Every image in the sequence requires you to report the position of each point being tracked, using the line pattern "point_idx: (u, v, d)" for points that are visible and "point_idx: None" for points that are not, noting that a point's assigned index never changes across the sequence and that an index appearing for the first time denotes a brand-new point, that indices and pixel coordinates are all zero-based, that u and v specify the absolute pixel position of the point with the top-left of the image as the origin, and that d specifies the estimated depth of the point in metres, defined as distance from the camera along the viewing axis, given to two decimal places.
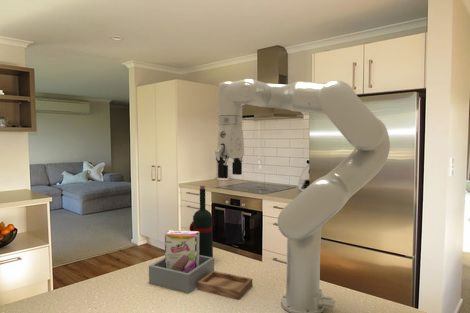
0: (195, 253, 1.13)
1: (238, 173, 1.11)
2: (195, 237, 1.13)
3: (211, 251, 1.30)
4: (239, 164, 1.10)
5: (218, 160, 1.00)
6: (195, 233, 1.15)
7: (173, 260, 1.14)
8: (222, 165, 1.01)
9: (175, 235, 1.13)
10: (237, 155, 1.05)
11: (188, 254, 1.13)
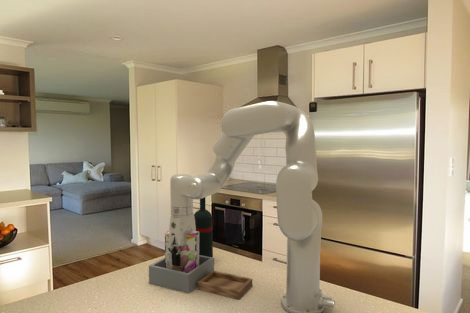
0: (195, 253, 1.13)
1: None
2: (195, 237, 1.13)
3: (211, 251, 1.30)
4: None
5: (171, 251, 1.11)
6: (195, 233, 1.15)
7: None
8: (175, 255, 1.12)
9: None
10: None
11: (188, 254, 1.13)
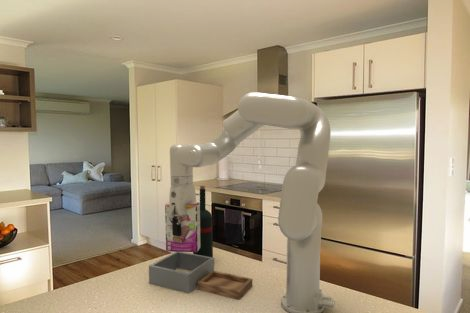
0: (196, 223, 1.12)
1: None
2: (195, 207, 1.12)
3: (211, 251, 1.30)
4: None
5: (171, 220, 1.10)
6: (195, 203, 1.14)
7: None
8: (176, 224, 1.11)
9: None
10: None
11: (188, 224, 1.12)
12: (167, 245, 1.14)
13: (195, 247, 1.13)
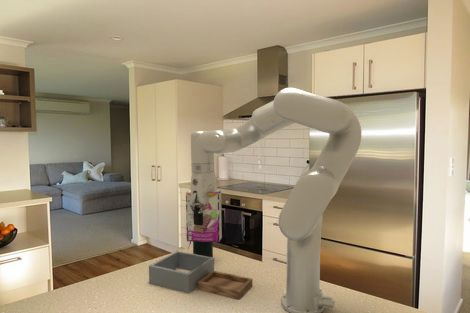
0: (218, 212, 1.08)
1: None
2: (217, 195, 1.08)
3: (211, 251, 1.30)
4: None
5: (193, 209, 1.06)
6: (217, 191, 1.10)
7: None
8: (197, 213, 1.07)
9: None
10: None
11: (210, 213, 1.09)
12: (188, 235, 1.10)
13: (217, 237, 1.09)
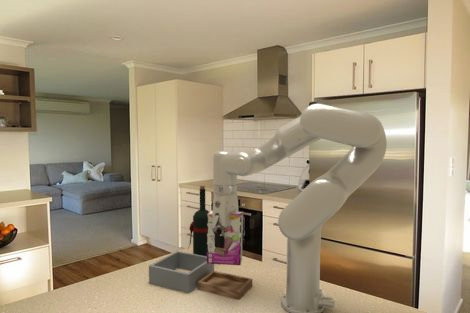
0: (240, 235, 1.06)
1: None
2: (240, 217, 1.05)
3: None
4: None
5: (215, 232, 1.03)
6: (239, 213, 1.07)
7: None
8: (219, 236, 1.04)
9: None
10: None
11: (232, 236, 1.06)
12: (208, 257, 1.07)
13: (238, 260, 1.06)
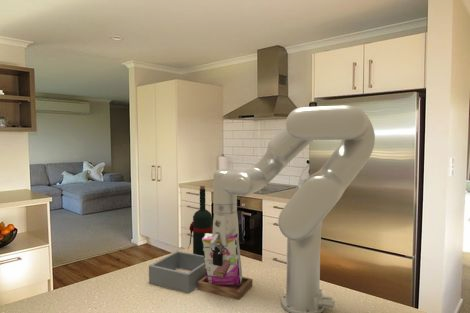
0: (236, 257, 1.05)
1: None
2: (235, 240, 1.04)
3: None
4: None
5: (213, 250, 1.02)
6: (234, 235, 1.06)
7: (214, 265, 1.06)
8: (217, 254, 1.03)
9: None
10: None
11: (229, 259, 1.05)
12: (208, 280, 1.08)
13: (238, 281, 1.07)
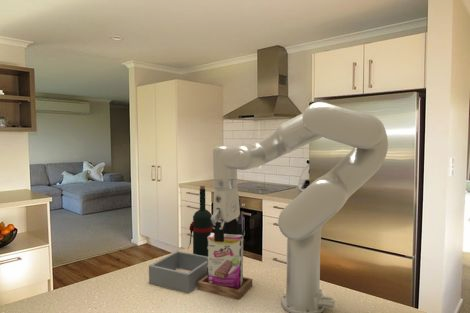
0: (239, 258, 1.06)
1: (234, 232, 1.12)
2: (239, 241, 1.05)
3: None
4: (235, 223, 1.12)
5: (214, 225, 1.02)
6: (239, 237, 1.07)
7: (216, 265, 1.07)
8: (218, 229, 1.03)
9: None
10: (233, 217, 1.06)
11: (232, 259, 1.06)
12: (208, 279, 1.08)
13: (238, 284, 1.07)
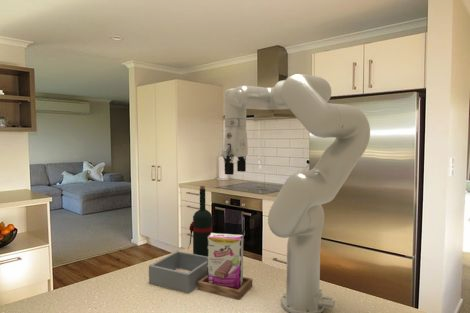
0: (239, 258, 1.06)
1: (242, 170, 1.23)
2: (240, 241, 1.06)
3: None
4: (243, 162, 1.23)
5: (225, 158, 1.13)
6: (239, 237, 1.07)
7: (216, 265, 1.07)
8: (228, 163, 1.14)
9: (218, 238, 1.07)
10: (242, 154, 1.17)
11: (232, 259, 1.06)
12: (208, 279, 1.08)
13: (238, 284, 1.07)
